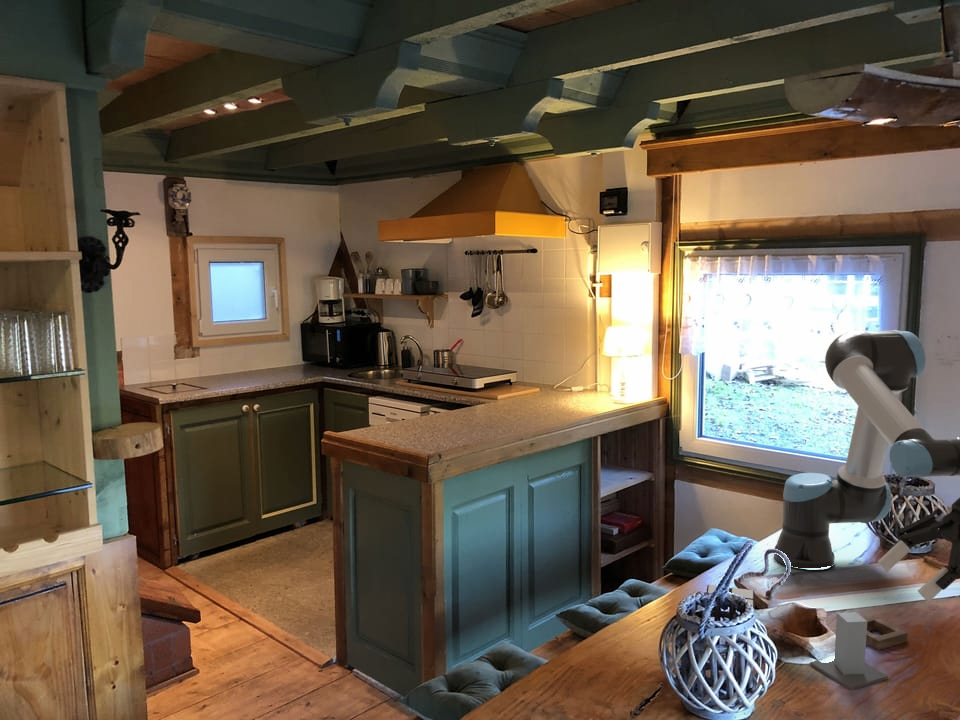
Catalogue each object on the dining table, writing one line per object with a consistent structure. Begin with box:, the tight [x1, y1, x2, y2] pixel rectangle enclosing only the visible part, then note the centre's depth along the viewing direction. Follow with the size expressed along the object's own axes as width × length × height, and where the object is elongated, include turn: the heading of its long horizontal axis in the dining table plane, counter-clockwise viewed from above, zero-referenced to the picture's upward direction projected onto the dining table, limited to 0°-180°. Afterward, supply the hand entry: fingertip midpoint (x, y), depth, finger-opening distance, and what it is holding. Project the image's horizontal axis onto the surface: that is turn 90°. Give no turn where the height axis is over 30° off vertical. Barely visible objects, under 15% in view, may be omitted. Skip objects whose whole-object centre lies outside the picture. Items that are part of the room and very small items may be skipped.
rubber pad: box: [809, 660, 889, 691], centre depth 156 cm, size 10×10×1 cm
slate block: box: [834, 611, 868, 675], centre depth 155 cm, size 4×4×11 cm
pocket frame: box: [863, 615, 909, 651], centre depth 169 cm, size 9×9×2 cm
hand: (901, 581), depth 154 cm, fingers open, 13 cm apart
